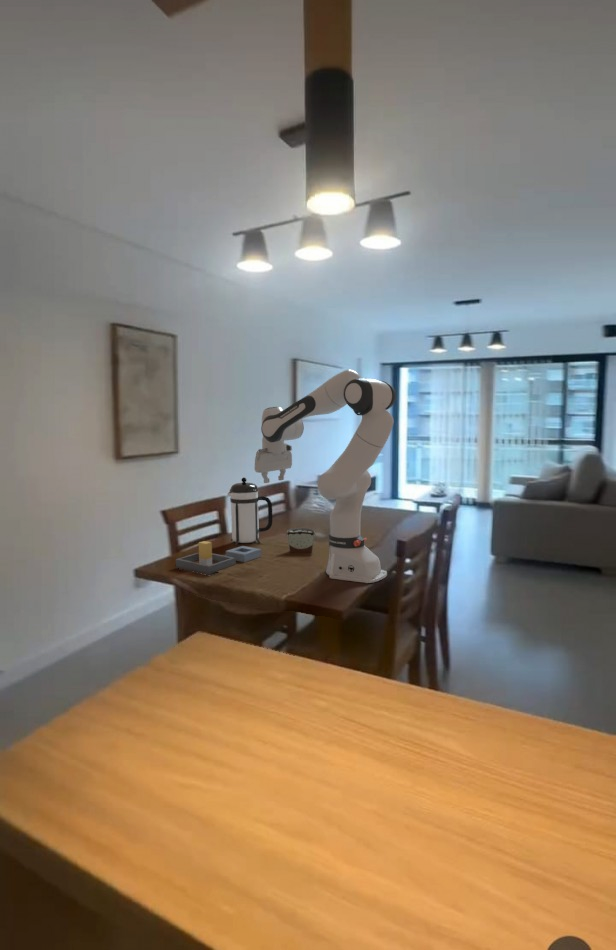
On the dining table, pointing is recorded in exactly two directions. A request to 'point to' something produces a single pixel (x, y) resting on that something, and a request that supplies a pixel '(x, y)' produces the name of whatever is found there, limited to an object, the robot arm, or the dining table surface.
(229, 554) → the socket block
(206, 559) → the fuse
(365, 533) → the dining table surface
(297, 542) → the food container
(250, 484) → the coffee press
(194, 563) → the parts tray
